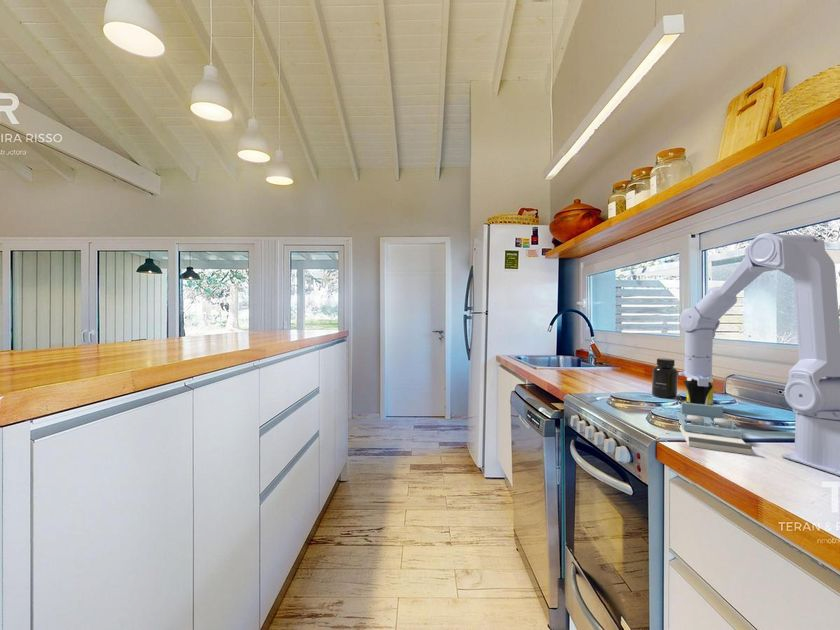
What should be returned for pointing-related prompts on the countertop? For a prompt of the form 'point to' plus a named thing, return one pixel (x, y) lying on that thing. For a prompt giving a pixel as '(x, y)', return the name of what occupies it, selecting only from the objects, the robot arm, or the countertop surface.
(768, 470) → the countertop surface
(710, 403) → the pill bottle
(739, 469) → the countertop surface
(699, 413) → the panel
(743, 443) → the boss board
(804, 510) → the countertop surface
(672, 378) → the supplement bottle
